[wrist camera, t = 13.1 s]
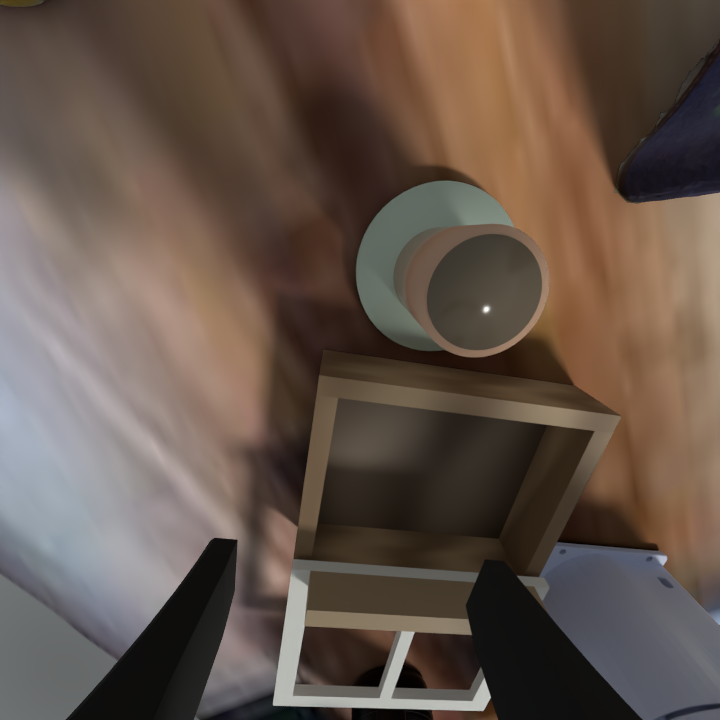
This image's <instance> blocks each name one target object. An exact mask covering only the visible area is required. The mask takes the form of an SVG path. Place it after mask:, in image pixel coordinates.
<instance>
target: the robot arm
mask: <svg viewBox="0 0 720 720" xmlns="http://www.w3.org/2000/svg"><path fill="white" fill-rule="evenodd" d="M236 557H237V540H234V539H221V538H214V539H212V540H211V541H210V542H209V544H208V545H207V547H206V548H205V550H204V551H203V553H202V554H201V556H200V557H199V559H198V560H197V562H196V563H195V565H194V566H193V567H192V569H191V570H190V572H189V573H188V574H187V576H186V577H185V578H184V580H183V581H182V582H181V584H180V585H179V587H178V588H177V589H176V591H175V592H174V593H173V595H172V596H171V597H170V598H169V600H168V601H167V602H166V603H165V605H164V606H163V607H162V609H161V610H160V611H159V612H158V614H157V615H156V616H155V617H154V619H153V620H152V621H151V623H150V624H149V625H148V626H147V628H146V629H145V630H144V631H143V632H142V634H141V635H140V636H139V637H138V638H137V640H136V641H135V642H134V643H133V644H132V645H131V647H130V648H129V649H128V650H127V651H126V652H125V654H124V655H123V656H122V657H121V658H120V660H119V661H118V662H117V663H116V664H115V665H114V667H113V668H112V669H111V670H110V672H109V673H108V674H107V675H106V676H105V677H104V678H103V680H102V681H101V682H100V683H99V684H98V685H97V686H96V687H95V688H94V690H93V691H92V692H91V693H90V694H89V695H88V696H87V697H86V698H85V699H84V701H83V702H82V703H81V704H80V705H79V706H78V707H77V708H76V709H75V710H74V711H73V712H72V714H71V715H70V716H69V717H68V718H67V719H66V720H194V717H195V714H196V712H197V709H198V706H199V703H200V700H201V697H202V694H203V692H204V689H205V686H206V683H207V680H208V677H209V675H210V672H211V669H212V666H213V663H214V660H215V657H216V654H217V652H218V649H219V646H220V643H221V640H222V637H223V633H224V630H225V626H226V622H227V618H228V615H229V611H230V607H231V603H232V599H233V595H234V591H235V575H236ZM666 560H667V556H666V555H665V554H664V553H663V552H661V551H652V550H641V549H629V548H618V547H606V546H595V545H583V544H572V543H560V542H557V543H556V545H555V547H554V549H553V551H552V553H551V555H550V557H549V559H548V561H547V562H546V564H545V566H544V568H543V570H542V572H541V574H540V576H539V577H542V578H544V579H545V580H546V582H547V584H548V585H549V587H550V588H549V590H548V592H547V594H546V596H545V597H544V599H543V601H542V602H543V604H544V606H545V608H546V610H547V611H548V613H549V614H548V613H547V612H546V611H545V610H544V608H543V607H542V606H541V605H540V603H539V602H538V601H537V600H536V599H535V597H534V596H533V595H532V594H531V593H530V591H529V590H528V589H527V588H526V586H525V585H524V584H523V583H522V582H521V580H520V579H519V578H518V577H517V576H516V574H515V573H514V572H513V571H512V570H511V568H510V567H509V566H508V565H507V564H506V563H505V561H500V560H487V559H485V560H484V563H483V565H482V567H481V570H480V572H479V574H478V577H477V579H476V582H475V584H474V586H473V589H472V591H471V594H470V596H469V598H468V601H467V603H466V610H467V615H468V619H469V624H470V629H471V633H472V637H473V642H474V646H475V650H476V653H477V656H478V659H479V662H480V665H481V669H482V672H483V675H484V678H485V681H486V684H487V687H488V690H489V693H490V696H491V699H492V702H493V705H494V708H495V711H496V714H497V717H498V720H720V625H719V624H718V623H717V622H716V621H715V620H714V619H713V618H712V617H711V616H710V615H709V614H708V613H707V612H706V611H705V610H704V609H703V608H702V607H701V606H700V605H699V604H698V602H697V601H696V600H695V599H694V598H693V597H692V596H691V595H690V594H689V593H688V592H687V591H686V590H685V589H684V588H683V587H682V586H681V585H680V584H679V583H678V582H677V581H676V580H675V579H674V578H673V576H672V575H671V574H670V573H669V572H668V571H667V570H666V569H665V568H664V567H663V565H664V563H665V562H666ZM549 615H550V616H549Z"/></svg>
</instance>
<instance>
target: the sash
mask: <svg viewBox="0 0 720 720" xmlns="http://www.w3.org/2000/svg"><path fill="white" fill-rule="evenodd" d="M478 574H479V573H474V572H461V571H447V570H434V569H420V568H407V567H393V566H380V565H367V564H353V563H340V562H326V561H313V560H299V559H293V565H292V572H291V579H290V586H289V594H288V601H287V608H286V615H285V622H284V629H283V636H282V644H281V651H280V658H279V665H278V672H277V679H276V686H275V693H274V701H273V706H310V707H349V708H387V709H425V710H464V711H484V709H485V707H486V705H487V703H488V702H489V700H490V698H491V696H490V693H489V690H488V687H487V684H486V681H485V678H484V675H483V672H482V669H481V668H480V670H479V672H478V674H477V676H476V678H475V680H474V682H473V684H472V686H471V688H470V690H449V689H419V688H395V686H396V683H397V680H398V677H399V675H400V672H401V669H402V666H403V663H404V661H405V658H406V655H407V652H408V649H409V647H410V644H411V641H412V638H413V635H414V632H426V633H445V634H464V635H472V633H471V629H470V624H469V619H468V615H467V610H466V603H467V601H468V598H469V596H470V594H471V591H472V589H473V586H474V584H475V582H476V579H477V577H478ZM517 577H518V578H519V579H520V580H521V582H522V583H523V584H524V585H525V586H526V588H527V589H528V590H529V591H530V593H531V594H532V595H533V596H534V597H535V599H536V600H537V601H538V602H539V603H540V605H541V606H542V607H543V608H544V610H545V611H546V612H547V613H548V611H547V610H546V608H545V606H544V604H543V602H542V601H543V599H544V597H545V596H546V594H547V592H548V590H549V588H550V587H549V585H548V584H547V582H546V580H545V579H544V578H542V577H528V576H517ZM548 614H549V613H548ZM549 616H550V615H549ZM305 626H311V627H331V628H350V629H369V630H388V631H397V632H396V635H395V638H394V641H393V645H392V648H391V651H390V654H389V657H388V660H387V663H386V666H385V669H384V672H383V675H382V678H381V681H380V684H379V687H359V686H329V685H298V684H295V679H296V673H297V667H298V662H299V656H300V650H301V644H302V639H303V633H304V627H305Z"/></svg>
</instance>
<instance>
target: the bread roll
mask: <svg viewBox="0 0 720 720" xmlns="http://www.w3.org/2000/svg"><path fill="white" fill-rule="evenodd" d="M44 1H45V0H0V5H4V6H12V7H30V6H35V5H39V4H41V3H43V2H44Z"/></svg>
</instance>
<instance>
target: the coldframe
mask: <svg viewBox="0 0 720 720" xmlns="http://www.w3.org/2000/svg"><path fill="white" fill-rule="evenodd" d="M620 418H621V416H620V415H619V414H617V413H616V412H614V411H613V410H611V409H610V408H608V407H607V406H605V405H604V404H602V403H601V402H599V401H598V400H596V399H595V398H593V397H592V396H590V395H588V394H587V393H585V392H584V391H582V390H581V389H579V388H578V387H576V386H574V385H567V384H560V383H553V382H546V381H539V380H532V379H525V378H518V377H511V376H504V375H497V374H491V373H484V372H477V371H470V370H463V369H456V368H449V367H442V366H435V365H428V364H421V363H414V362H407V361H400V360H394V359H387V358H380V357H373V356H366V355H359V354H352V353H345V352H338V351H331V350H324V349H323V354H322V361H321V367H320V374H319V381H318V388H317V395H316V402H315V409H314V416H313V423H312V430H311V438H310V445H309V452H308V459H307V466H306V473H305V480H304V487H303V495H302V502H301V509H300V516H299V523H298V530H297V537H296V544H295V552H294V559H299V560H313V561H326V562H340V563H353V564H367V565H380V566H393V567H407V568H420V569H434V570H447V571H461V572H474V573H479V572H480V570H481V567H482V565H483V563H484V560H485V559H487V560H500V561H505V563H506V564H507V565H508V566H509V567H510V568H511V570H512V571H513V572H514V573H515V574H516V576H528V577H539V576H540V574H541V572H542V570H543V568H544V566H545V564H546V562H547V561H548V559H549V557H550V555H551V553H552V551H553V549H554V547H555V545H556V543H557V541H558V539H559V537H560V535H561V533H562V531H563V529H564V527H565V525H566V523H567V522H568V520H569V518H570V516H571V514H572V512H573V510H574V508H575V506H576V504H577V502H578V500H579V498H580V496H581V494H582V492H583V490H584V488H585V486H586V485H587V483H588V481H589V479H590V477H591V475H592V473H593V471H594V469H595V467H596V465H597V463H598V461H599V459H600V457H601V455H602V453H603V451H604V449H605V447H606V446H607V444H608V442H609V440H610V438H611V436H612V434H613V432H614V430H615V428H616V426H617V424H618V422H619V420H620Z"/></svg>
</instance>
